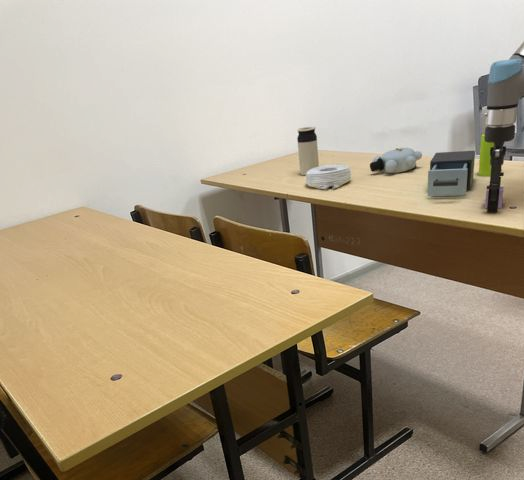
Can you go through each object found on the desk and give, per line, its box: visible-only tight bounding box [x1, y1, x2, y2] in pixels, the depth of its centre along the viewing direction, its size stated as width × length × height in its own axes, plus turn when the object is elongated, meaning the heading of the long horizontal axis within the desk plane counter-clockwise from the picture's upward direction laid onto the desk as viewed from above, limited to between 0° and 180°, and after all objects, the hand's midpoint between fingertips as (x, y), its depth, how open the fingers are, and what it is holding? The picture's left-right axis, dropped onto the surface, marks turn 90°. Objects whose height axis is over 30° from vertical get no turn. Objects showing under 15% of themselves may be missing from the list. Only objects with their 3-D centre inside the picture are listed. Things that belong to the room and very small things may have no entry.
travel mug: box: [296, 126, 320, 176], centre depth 221 cm, size 8×8×18 cm
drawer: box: [427, 162, 468, 197], centre depth 167 cm, size 18×11×8 cm, turn 158°
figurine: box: [369, 147, 423, 174], centre depth 208 cm, size 17×8×20 cm
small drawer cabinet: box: [429, 150, 476, 192], centre depth 176 cm, size 15×13×10 cm
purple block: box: [484, 186, 505, 210], centre depth 152 cm, size 4×4×5 cm
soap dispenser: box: [478, 124, 494, 177], centre depth 181 cm, size 6×7×20 cm
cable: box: [304, 164, 352, 191], centre depth 202 cm, size 18×18×6 cm
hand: (493, 205), depth 153 cm, fingers open, 12 cm apart
